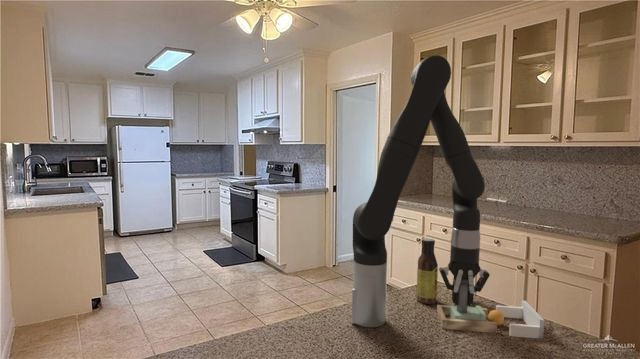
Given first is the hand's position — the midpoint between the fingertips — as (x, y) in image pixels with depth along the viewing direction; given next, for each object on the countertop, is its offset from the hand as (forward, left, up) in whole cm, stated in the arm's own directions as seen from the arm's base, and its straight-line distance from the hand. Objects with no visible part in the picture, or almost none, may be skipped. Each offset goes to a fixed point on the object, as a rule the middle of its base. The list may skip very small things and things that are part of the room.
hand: (462, 304), depth 110 cm
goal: (+15, 0, -5) cm, 16 cm away
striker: (+2, 0, -5) cm, 5 cm away
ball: (+9, 0, -3) cm, 10 cm away
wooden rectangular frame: (+1, 0, -5) cm, 5 cm away
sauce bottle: (-8, +14, -5) cm, 17 cm away
